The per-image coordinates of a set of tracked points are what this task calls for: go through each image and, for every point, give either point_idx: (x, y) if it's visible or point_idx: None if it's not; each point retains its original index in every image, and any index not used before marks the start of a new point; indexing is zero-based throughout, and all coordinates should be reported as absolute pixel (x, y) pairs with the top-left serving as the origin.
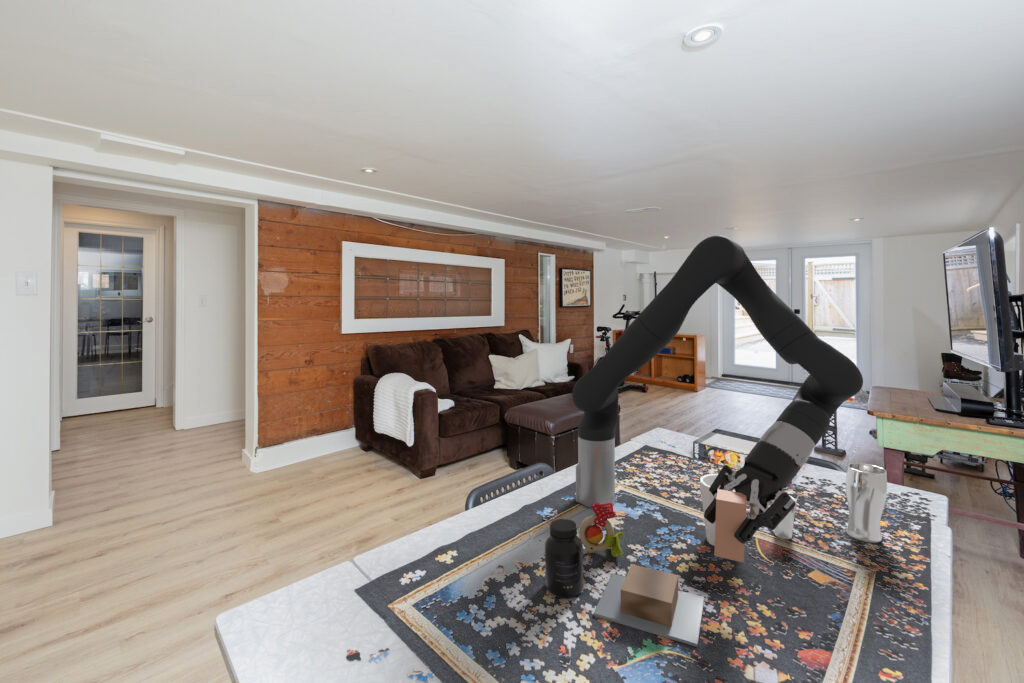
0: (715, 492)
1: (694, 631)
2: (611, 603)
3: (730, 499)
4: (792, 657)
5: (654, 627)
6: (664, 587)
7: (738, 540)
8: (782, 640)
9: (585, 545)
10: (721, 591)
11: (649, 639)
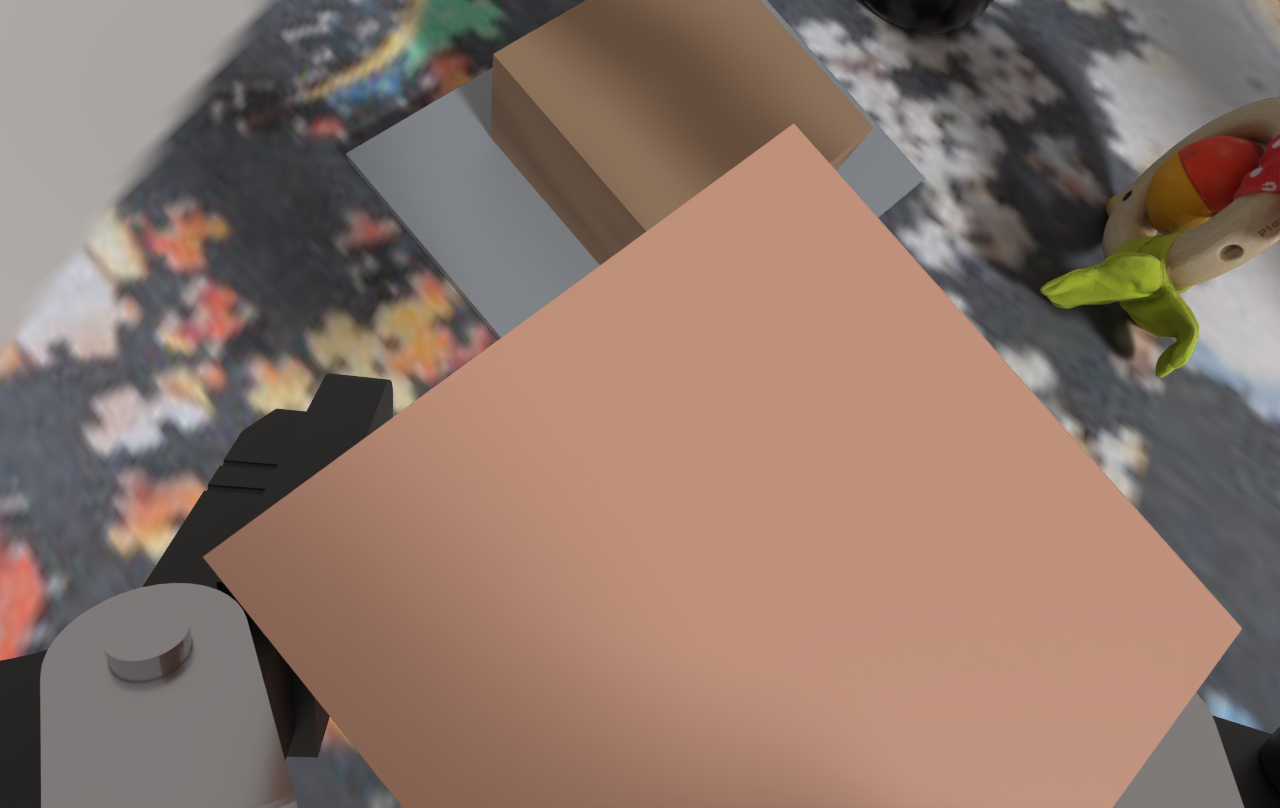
0: (1267, 785)
1: (416, 204)
2: None
3: (658, 416)
4: (34, 511)
5: None
6: (622, 123)
7: None
8: (146, 577)
9: (1150, 167)
10: None
11: (490, 33)
